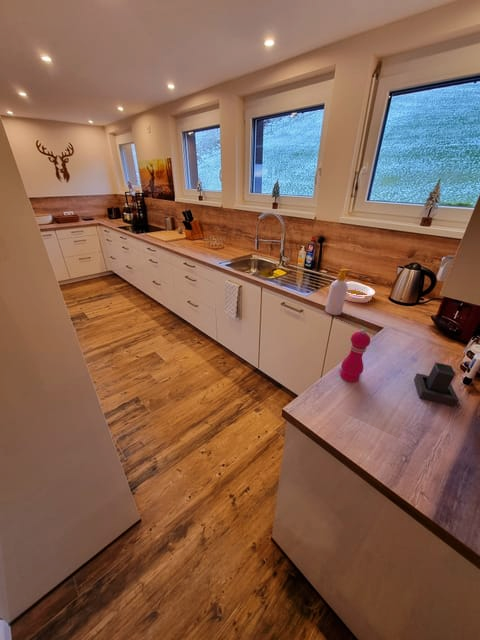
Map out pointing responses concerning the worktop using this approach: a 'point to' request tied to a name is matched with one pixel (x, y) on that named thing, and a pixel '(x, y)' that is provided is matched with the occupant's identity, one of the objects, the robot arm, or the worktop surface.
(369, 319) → the worktop surface
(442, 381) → the dark grey block
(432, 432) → the worktop surface
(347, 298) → the white oval dish
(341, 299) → the soap bottle
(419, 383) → the base pad
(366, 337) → the pepper mill
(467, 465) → the worktop surface
